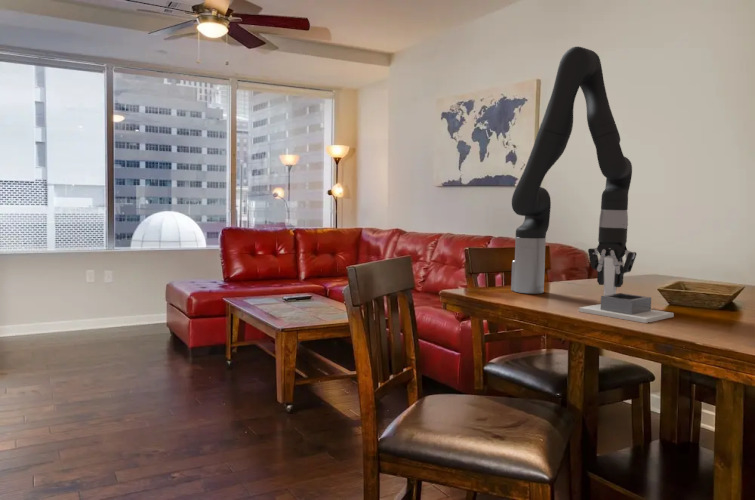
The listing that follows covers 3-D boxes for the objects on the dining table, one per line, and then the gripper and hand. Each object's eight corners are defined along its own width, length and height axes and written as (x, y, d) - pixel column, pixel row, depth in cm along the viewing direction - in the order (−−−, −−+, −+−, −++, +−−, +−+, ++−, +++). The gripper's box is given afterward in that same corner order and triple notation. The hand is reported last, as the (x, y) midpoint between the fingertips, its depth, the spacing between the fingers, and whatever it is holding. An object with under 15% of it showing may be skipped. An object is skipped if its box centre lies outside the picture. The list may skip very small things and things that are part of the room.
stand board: (578, 311, 155) (578, 307, 155) (607, 306, 164) (607, 302, 164) (645, 323, 141) (645, 319, 141) (673, 316, 150) (673, 312, 150)
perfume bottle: (619, 302, 168) (622, 249, 166) (603, 301, 168) (606, 248, 167) (616, 299, 172) (619, 248, 171) (600, 298, 173) (603, 247, 172)
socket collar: (600, 309, 153) (601, 296, 153) (619, 306, 159) (620, 293, 159) (631, 314, 147) (632, 300, 146) (650, 310, 152) (651, 297, 152)
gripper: (583, 225, 172) (580, 283, 173) (630, 227, 161) (626, 290, 162) (597, 224, 176) (594, 281, 178) (644, 227, 165) (640, 288, 167)
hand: (609, 285), depth 170 cm, fingers closed on perfume bottle, 4 cm apart
